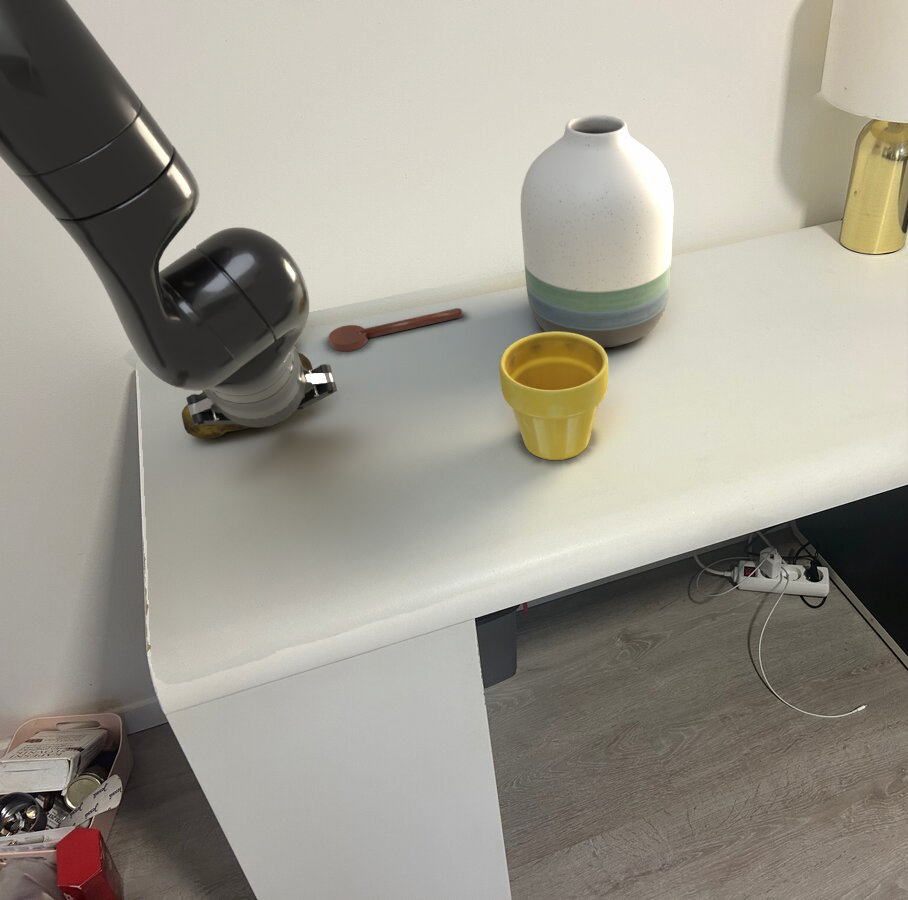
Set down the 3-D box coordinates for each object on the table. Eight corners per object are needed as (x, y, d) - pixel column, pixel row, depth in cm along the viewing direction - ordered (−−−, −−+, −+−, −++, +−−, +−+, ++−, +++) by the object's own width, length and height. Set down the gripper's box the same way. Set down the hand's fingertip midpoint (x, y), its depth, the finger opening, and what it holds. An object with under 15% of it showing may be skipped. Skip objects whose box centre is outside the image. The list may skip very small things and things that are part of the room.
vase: (662, 289, 110) (671, 97, 95) (673, 361, 97) (684, 152, 82) (532, 291, 110) (519, 99, 95) (525, 363, 97) (508, 154, 82)
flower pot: (627, 453, 84) (628, 371, 78) (532, 486, 80) (525, 403, 74) (580, 399, 91) (577, 320, 85) (491, 427, 87) (481, 347, 81)
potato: (207, 403, 91) (183, 340, 86) (328, 396, 92) (311, 333, 87) (184, 452, 85) (157, 386, 80) (314, 444, 86) (296, 378, 81)
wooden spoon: (334, 355, 99) (331, 346, 98) (327, 337, 102) (325, 328, 101) (468, 324, 104) (467, 315, 103) (458, 308, 107) (456, 299, 106)
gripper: (323, 309, 69) (330, 361, 86) (149, 345, 65) (192, 392, 82) (348, 396, 69) (351, 431, 85) (175, 438, 65) (212, 467, 81)
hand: (273, 412), depth 83 cm, fingers closed
